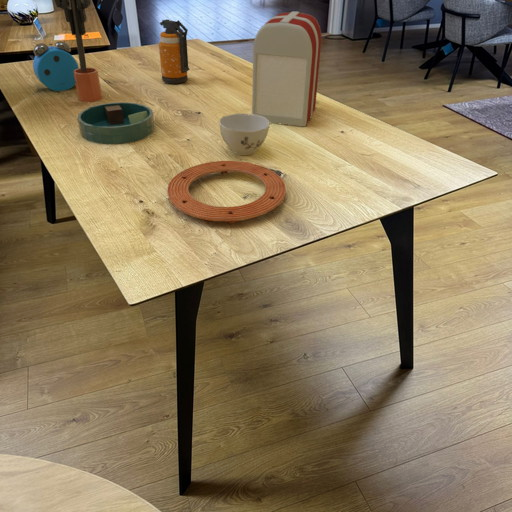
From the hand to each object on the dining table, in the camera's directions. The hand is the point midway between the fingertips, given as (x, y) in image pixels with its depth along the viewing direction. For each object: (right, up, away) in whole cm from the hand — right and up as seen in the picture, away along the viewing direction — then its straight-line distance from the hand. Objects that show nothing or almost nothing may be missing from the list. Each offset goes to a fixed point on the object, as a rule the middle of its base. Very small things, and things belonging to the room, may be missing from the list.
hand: (78, 34), depth 141 cm
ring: (+46, -53, -38) cm, 80 cm away
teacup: (+49, -38, -18) cm, 65 cm away
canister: (+24, -4, +29) cm, 38 cm away
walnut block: (+12, -28, -5) cm, 31 cm away
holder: (0, -16, +11) cm, 19 cm away
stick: (0, -9, +5) cm, 10 cm away
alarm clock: (-13, -10, +19) cm, 25 cm away
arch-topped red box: (+61, -23, +4) cm, 65 cm away
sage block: (+19, -29, -12) cm, 37 cm away
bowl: (+15, -32, -10) cm, 36 cm away
